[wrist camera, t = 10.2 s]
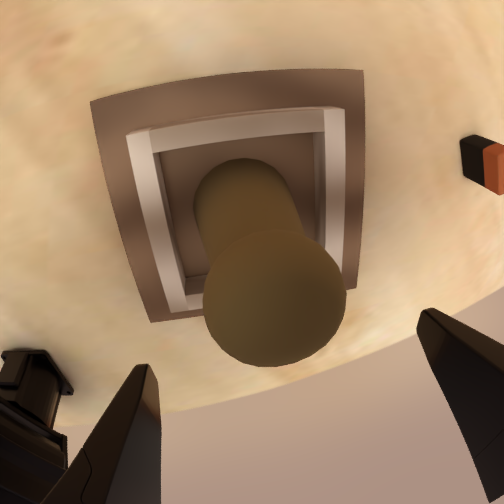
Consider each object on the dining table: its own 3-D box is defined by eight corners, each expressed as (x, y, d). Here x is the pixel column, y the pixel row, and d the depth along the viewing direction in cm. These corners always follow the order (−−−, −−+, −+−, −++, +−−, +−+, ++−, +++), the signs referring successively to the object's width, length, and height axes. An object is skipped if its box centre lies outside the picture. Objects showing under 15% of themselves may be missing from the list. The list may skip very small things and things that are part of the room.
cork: (211, 144, 17) (225, 227, 8) (306, 176, 19) (402, 277, 10) (181, 236, 20) (173, 378, 10) (269, 258, 22) (320, 393, 12)
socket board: (351, 280, 25) (366, 303, 23) (151, 314, 24) (148, 341, 21) (356, 70, 17) (379, 70, 14) (95, 100, 16) (77, 104, 13)
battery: (462, 177, 22) (503, 199, 18) (458, 139, 20) (502, 157, 16) (478, 169, 22) (519, 190, 17) (475, 132, 20) (518, 149, 16)
